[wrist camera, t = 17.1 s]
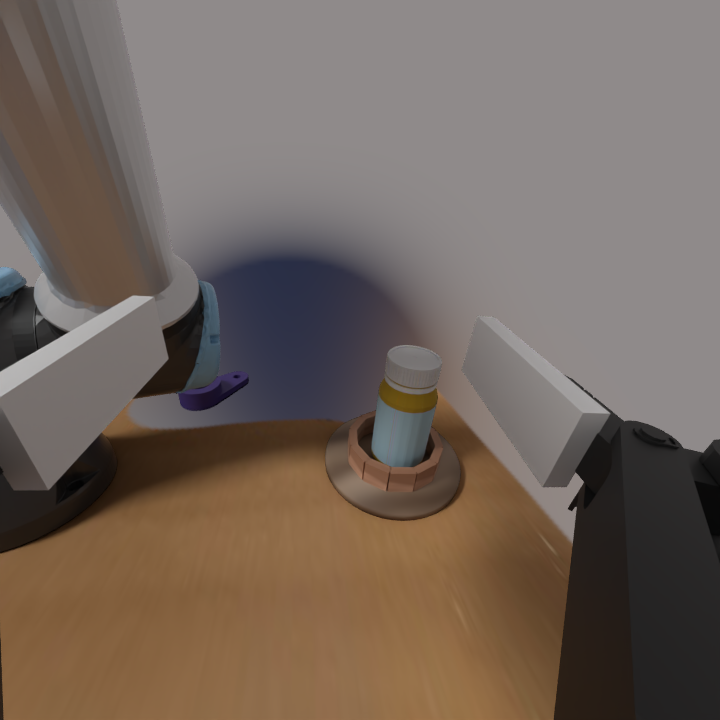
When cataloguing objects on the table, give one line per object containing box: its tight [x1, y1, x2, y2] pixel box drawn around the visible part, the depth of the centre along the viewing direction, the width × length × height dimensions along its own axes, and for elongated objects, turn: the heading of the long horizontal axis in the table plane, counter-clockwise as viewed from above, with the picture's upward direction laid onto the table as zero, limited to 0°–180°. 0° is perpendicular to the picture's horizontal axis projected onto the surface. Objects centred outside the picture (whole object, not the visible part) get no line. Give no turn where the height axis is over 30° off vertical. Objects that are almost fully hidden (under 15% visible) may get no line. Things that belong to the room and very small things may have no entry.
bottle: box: [371, 345, 442, 467], centre depth 39 cm, size 7×7×15 cm
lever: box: [178, 371, 249, 411], centre depth 54 cm, size 12×6×3 cm, turn 146°
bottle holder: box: [325, 410, 461, 521], centre depth 42 cm, size 18×18×4 cm
